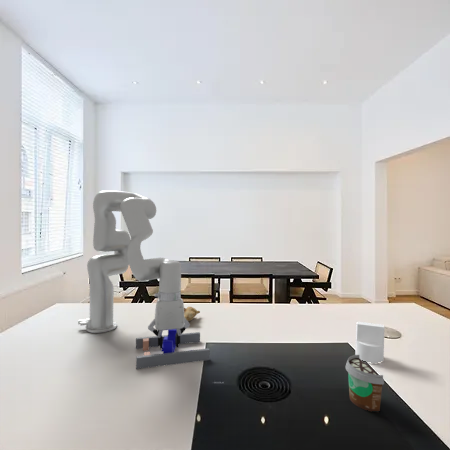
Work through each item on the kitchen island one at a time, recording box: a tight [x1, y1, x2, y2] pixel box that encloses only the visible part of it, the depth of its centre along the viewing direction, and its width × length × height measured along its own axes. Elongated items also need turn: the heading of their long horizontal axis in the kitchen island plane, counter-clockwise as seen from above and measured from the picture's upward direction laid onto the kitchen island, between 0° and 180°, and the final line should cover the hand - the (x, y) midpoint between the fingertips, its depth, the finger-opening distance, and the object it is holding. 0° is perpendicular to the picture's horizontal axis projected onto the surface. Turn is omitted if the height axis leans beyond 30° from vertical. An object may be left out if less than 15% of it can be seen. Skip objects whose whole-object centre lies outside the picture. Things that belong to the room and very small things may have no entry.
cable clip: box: [161, 329, 177, 354], centre depth 107 cm, size 12×4×6 cm, turn 2°
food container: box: [345, 354, 385, 412], centre depth 81 cm, size 12×6×10 cm, turn 5°
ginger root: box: [184, 306, 201, 322], centre depth 141 cm, size 16×16×8 cm
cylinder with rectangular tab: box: [354, 321, 385, 363], centre depth 106 cm, size 9×9×12 cm
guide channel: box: [135, 331, 211, 370], centre depth 107 cm, size 24×16×4 cm
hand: (168, 346), depth 107 cm, fingers closed on cable clip, 5 cm apart
